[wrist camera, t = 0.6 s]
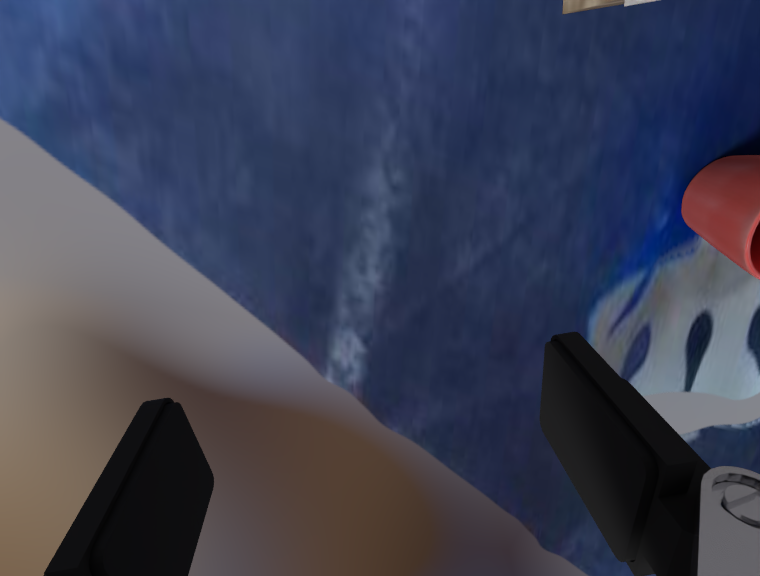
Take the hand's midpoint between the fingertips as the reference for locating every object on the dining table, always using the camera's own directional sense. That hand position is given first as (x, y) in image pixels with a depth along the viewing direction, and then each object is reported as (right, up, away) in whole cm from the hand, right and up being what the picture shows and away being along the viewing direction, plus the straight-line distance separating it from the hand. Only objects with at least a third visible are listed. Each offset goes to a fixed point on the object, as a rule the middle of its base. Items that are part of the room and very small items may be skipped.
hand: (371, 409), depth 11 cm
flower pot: (+34, +13, +32) cm, 48 cm away
